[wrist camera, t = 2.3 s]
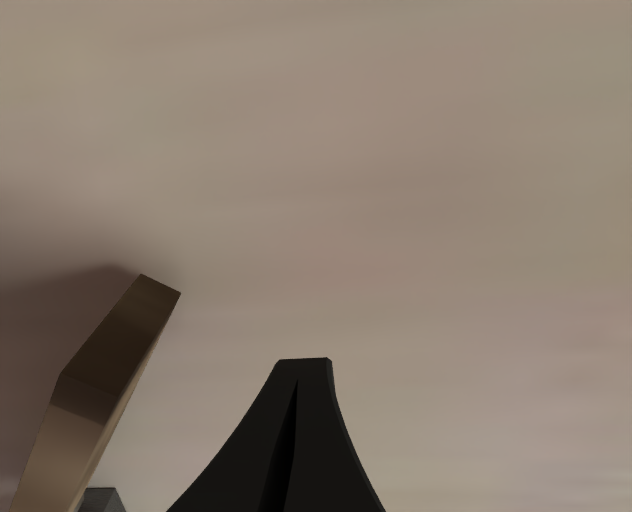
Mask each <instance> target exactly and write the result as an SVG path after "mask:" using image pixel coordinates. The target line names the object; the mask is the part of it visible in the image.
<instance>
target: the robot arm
mask: <svg viewBox="0 0 632 512" xmlns="http://www.w3.org/2000/svg"><path fill="white" fill-rule="evenodd" d="M166 512H386V511H385V509H384V507H383V506H382V504H381V502H380V500H379V498H378V496H377V494H376V493H375V491H374V489H373V487H372V485H371V483H370V481H369V479H368V477H367V475H366V473H365V471H364V469H363V467H362V465H361V462H360V460H359V458H358V456H357V453H356V451H355V449H354V446H353V444H352V441H351V439H350V437H349V434H348V431H347V429H346V426H345V423H344V420H343V417H342V414H341V411H340V408H339V405H338V402H337V398H336V393H335V384H334V376H333V367H332V361H331V360H330V359H328V358H327V357H324V358H303V359H281V360H279V361H278V362H277V363H276V364H275V366H274V368H273V370H272V372H271V373H270V375H269V377H268V379H267V381H266V382H265V384H264V386H263V387H262V389H261V391H260V392H259V394H258V396H257V397H256V399H255V400H254V402H253V404H252V405H251V407H250V408H249V410H248V411H247V413H246V414H245V416H244V417H243V419H242V420H241V422H240V423H239V425H238V426H237V428H236V429H235V430H234V432H233V433H232V434H231V436H230V437H229V438H228V440H227V441H226V442H225V444H224V445H223V447H222V448H221V449H220V451H219V452H218V453H217V455H216V456H215V457H214V458H213V460H212V461H211V462H210V463H209V465H208V466H207V467H206V468H205V469H204V471H203V472H202V473H201V474H200V475H199V476H198V477H197V479H196V480H195V481H194V482H193V483H192V484H191V486H190V487H189V488H188V489H187V490H186V491H185V492H184V493H183V494H182V495H181V496H180V497H179V498H178V499H177V501H176V502H175V503H174V504H173V505H172V506H171V507H170V508H169V509H168V510H167V511H166Z"/></svg>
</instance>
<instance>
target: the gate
mask: <svg viewBox="0 0 632 512" xmlns="http://www.w3.org/2000/svg"><path fill="white" fill-rule="evenodd" d="M180 295H181V292H179V291H176V290H174V289H172V288H170V287H168V286H166V285H164V284H162V283H160V282H157V281H155V280H153V279H151V278H149V277H147V276H145V275H143V274H140V275H139V277H138V278H137V279H136V280H135V282H134V283H133V284H132V285H131V287H130V288H129V289H128V290H127V291H126V293H125V294H124V295H123V296H122V298H121V299H120V300H119V301H118V303H117V304H116V305H115V306H114V308H113V309H112V310H111V311H110V313H109V314H108V315H107V316H106V317H105V319H104V320H103V321H102V322H101V324H100V325H99V326H98V327H97V329H96V330H95V331H94V332H93V334H92V335H91V336H90V337H89V338H88V340H87V341H86V342H85V343H84V345H83V346H82V347H81V348H80V350H79V351H78V352H77V353H76V355H75V356H74V357H73V358H72V359H71V361H70V362H69V363H68V364H67V366H66V367H65V368H64V369H63V371H62V372H61V373H60V376H59V378H58V381H57V384H56V386H55V389H54V392H53V394H52V397H51V400H50V402H49V405H48V408H47V411H46V413H45V416H44V419H43V421H42V424H41V427H40V429H39V432H38V435H37V437H36V440H35V443H34V445H33V448H32V451H31V453H30V456H29V459H28V462H27V464H26V467H25V470H24V472H23V475H22V478H21V480H20V483H19V486H18V488H17V491H16V494H15V496H14V499H13V502H12V504H11V507H10V510H9V512H78V510H79V508H80V506H81V505H82V503H83V501H84V494H83V493H84V491H85V489H86V487H87V485H88V483H89V481H90V479H91V477H92V475H93V473H94V471H95V469H96V467H97V465H98V463H99V461H100V459H101V457H102V455H103V453H104V450H105V448H106V446H107V444H108V442H109V440H110V438H111V436H112V434H113V432H114V430H115V428H116V426H117V424H118V422H119V420H120V418H121V416H122V414H123V412H124V409H125V407H126V405H127V403H128V401H129V399H130V397H131V395H132V393H133V391H134V389H135V387H136V385H137V383H138V381H139V379H140V377H141V375H142V373H143V371H144V368H145V366H146V364H147V362H148V360H149V358H150V356H151V354H152V352H153V350H154V348H155V346H156V344H157V342H158V340H159V338H160V336H161V334H162V332H163V329H164V327H165V325H166V323H167V321H168V319H169V317H170V315H171V313H172V311H173V309H174V307H175V305H176V303H177V301H178V299H179V297H180Z"/></svg>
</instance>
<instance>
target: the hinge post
mask: <svg viewBox="0 0 632 512" xmlns="http://www.w3.org/2000/svg"><path fill="white" fill-rule="evenodd" d="M83 494H84V501H83V503H82V505H81V506H80V508H79V510H78V512H126V511H125V508H124V506H123V504H122V502H121V500H120V498H119V495H118V493H117V491H116V489H115V488H105V489H85V491H84V493H83Z"/></svg>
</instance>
